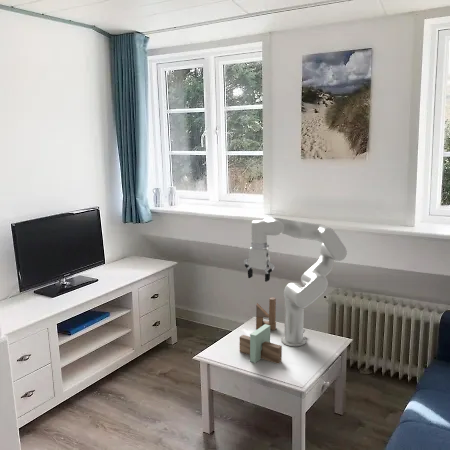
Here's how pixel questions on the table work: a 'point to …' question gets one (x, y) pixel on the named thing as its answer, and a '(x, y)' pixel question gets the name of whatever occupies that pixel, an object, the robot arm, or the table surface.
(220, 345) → the table surface
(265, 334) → the green slotted board
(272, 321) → the wooden block
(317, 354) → the table surface
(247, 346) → the walnut slotted plate
